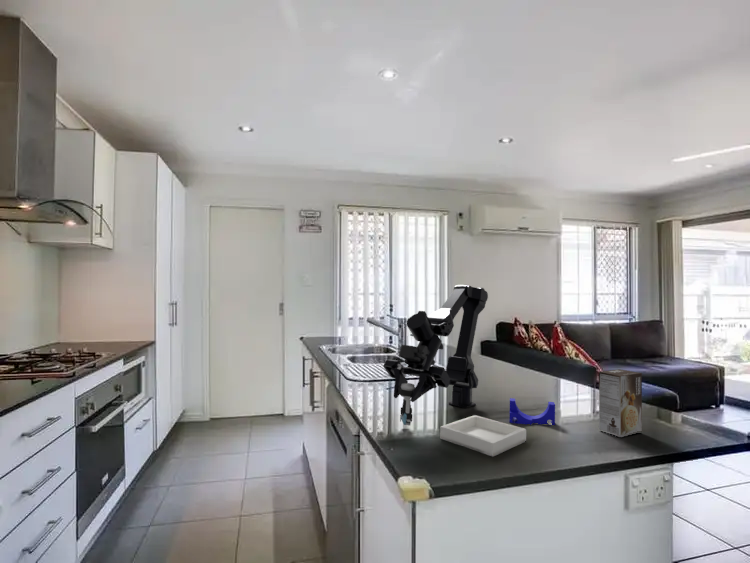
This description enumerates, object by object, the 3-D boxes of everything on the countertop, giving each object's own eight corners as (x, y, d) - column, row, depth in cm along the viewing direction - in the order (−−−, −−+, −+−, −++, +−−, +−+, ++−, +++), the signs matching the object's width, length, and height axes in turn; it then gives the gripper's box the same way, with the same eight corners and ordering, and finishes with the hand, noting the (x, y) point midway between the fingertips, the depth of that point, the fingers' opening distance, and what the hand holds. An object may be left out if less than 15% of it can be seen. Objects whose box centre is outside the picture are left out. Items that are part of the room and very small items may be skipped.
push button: (418, 427, 110) (421, 389, 110) (398, 427, 109) (400, 388, 109) (413, 419, 117) (415, 382, 117) (394, 418, 116) (396, 381, 116)
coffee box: (619, 426, 119) (619, 368, 119) (642, 433, 113) (643, 372, 113) (597, 431, 115) (598, 371, 115) (621, 438, 109) (621, 375, 109)
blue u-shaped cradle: (509, 423, 121) (509, 402, 121) (509, 418, 125) (509, 398, 125) (555, 428, 117) (555, 406, 117) (553, 423, 121) (554, 402, 121)
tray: (474, 426, 117) (474, 415, 117) (526, 441, 106) (526, 429, 106) (440, 438, 107) (440, 426, 107) (492, 456, 96) (493, 443, 96)
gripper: (387, 330, 122) (362, 376, 113) (445, 336, 110) (422, 387, 102) (402, 355, 128) (379, 399, 119) (459, 362, 117) (438, 412, 108)
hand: (403, 399), depth 112 cm, fingers closed on push button, 5 cm apart
